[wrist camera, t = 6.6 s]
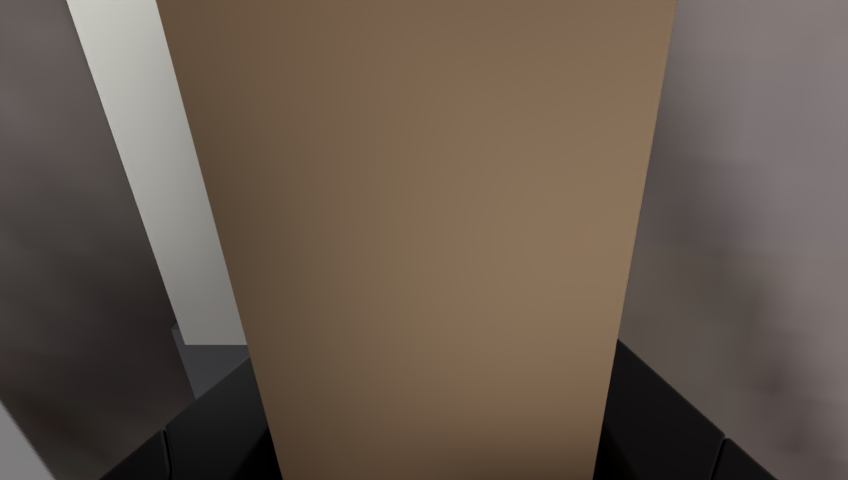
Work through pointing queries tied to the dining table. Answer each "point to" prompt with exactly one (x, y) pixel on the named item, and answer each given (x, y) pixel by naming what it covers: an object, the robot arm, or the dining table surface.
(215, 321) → the tile
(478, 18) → the tan wooden block
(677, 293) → the dining table surface
